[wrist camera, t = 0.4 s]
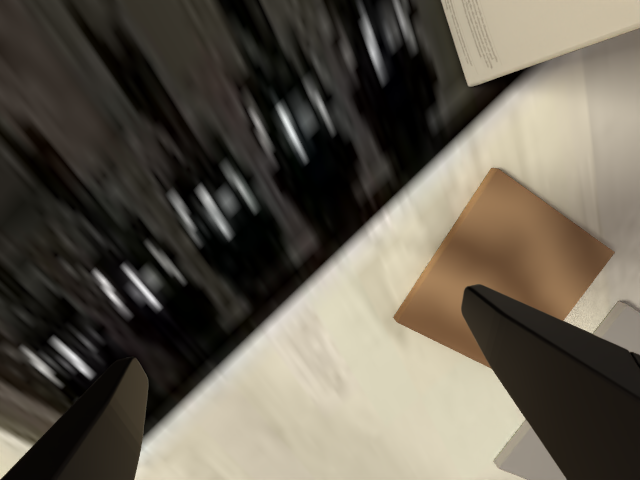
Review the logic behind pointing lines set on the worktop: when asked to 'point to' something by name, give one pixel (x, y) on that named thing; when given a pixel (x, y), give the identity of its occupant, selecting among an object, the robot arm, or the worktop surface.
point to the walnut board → (502, 263)
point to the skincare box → (530, 31)
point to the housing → (525, 447)
